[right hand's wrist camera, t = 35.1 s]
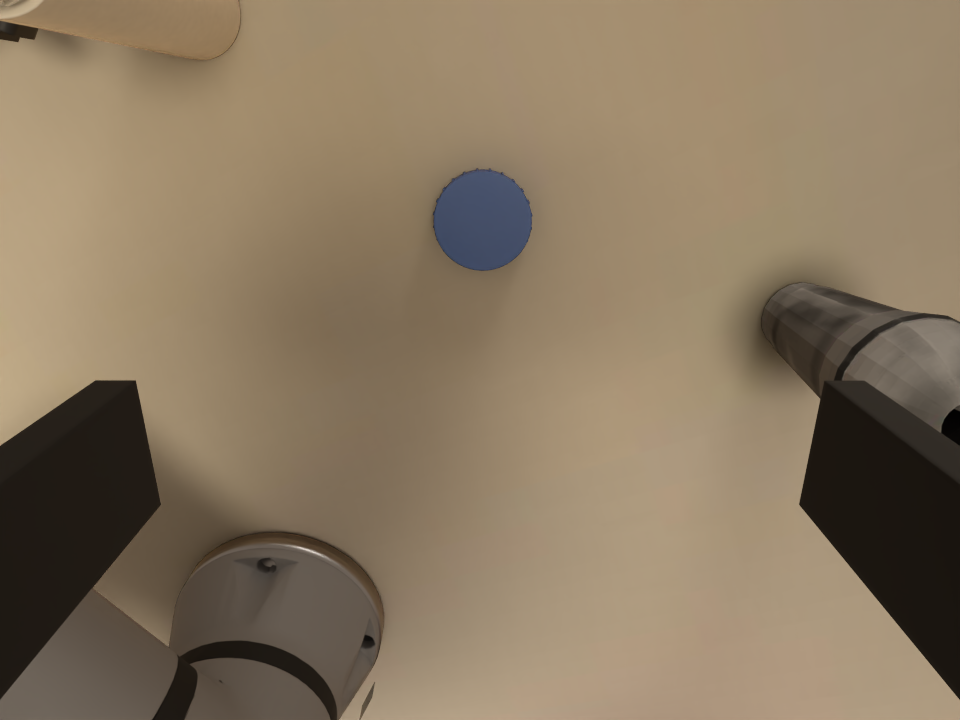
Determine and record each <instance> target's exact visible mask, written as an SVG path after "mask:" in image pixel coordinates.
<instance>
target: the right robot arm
mask: <svg viewBox="0 0 960 720" xmlns="http://www.w3.org/2000/svg"><path fill="white" fill-rule="evenodd" d="M160 505H161V503H160V498H159V493H158V488H157V483H156V479H155V474H154V469H153V464H152V459H151V454H150V449H149V444H148V439H147V434H146V429H145V424H144V419H143V414H142V409H141V404H140V399H139V394H138V390H137V385H136V381H94V382H93V383H91V384H90V385H88V386H87V387H85V388H84V389H82V390H81V391H80V392H78V393H77V394H75V395H74V396H72V397H71V398H69V399H68V400H66V401H65V402H64V403H62V404H61V405H59V406H58V407H56V408H55V409H53V410H52V411H50V412H49V413H48V414H46V415H45V416H43V417H42V418H40V419H39V420H37V421H36V422H34V423H33V424H31V425H30V426H29V427H27V428H26V429H24V430H23V431H21V432H20V433H18V434H17V435H15V436H14V437H13V438H11V439H10V440H8V441H7V442H5V443H4V444H2V445H1V446H0V720H339V719H340V717H341V716H342V714H343V713H344V711H345V710H346V708H347V707H348V705H349V703H350V702H351V700H352V699H353V697H354V696H355V694H356V693H357V691H358V690H359V688H360V687H361V685H362V683H363V682H364V680H365V679H366V677H367V676H368V674H369V672H370V671H371V669H372V668H373V666H374V664H375V662H376V659H377V657H378V653H379V649H380V644H381V639H382V633H383V627H384V615H383V608H382V603H381V600H380V597H379V594H378V592H377V590H376V588H375V586H374V585H373V583H372V581H371V580H370V578H369V577H368V576H367V575H366V573H365V572H364V571H363V570H362V569H361V568H360V567H359V566H358V565H357V564H356V563H355V562H354V561H353V560H352V559H350V558H349V557H347V556H346V555H345V554H343V553H342V552H340V551H338V550H337V549H335V548H333V547H331V546H329V545H327V544H325V543H323V542H320V541H318V540H315V539H312V538H308V537H305V536H300V535H295V534H288V533H259V534H252V535H247V536H243V537H240V538H236V539H234V540H231V541H229V542H226V543H225V544H223V545H221V546H219V547H217V548H216V549H214V550H213V551H211V552H210V553H209V554H208V555H206V556H205V557H204V558H203V559H202V560H201V561H200V562H199V564H198V565H197V566H196V568H195V569H194V570H193V572H192V574H191V575H190V577H189V578H188V580H187V582H186V583H185V585H184V586H183V588H182V590H181V592H180V594H179V596H178V599H177V602H176V606H175V612H174V617H173V623H172V630H171V636H170V642H169V647H167V646H166V645H165V644H163V643H162V642H161V641H160V640H158V639H157V638H156V637H154V636H153V635H152V634H151V633H149V632H148V631H147V630H145V629H144V628H143V627H142V626H140V625H139V624H138V623H136V622H135V621H134V620H133V619H131V618H130V617H129V616H127V615H126V614H125V613H124V612H122V611H121V610H120V609H118V608H117V607H116V606H115V605H113V604H112V603H111V602H109V601H108V600H107V599H106V598H104V597H103V596H102V595H100V594H99V593H98V592H97V591H95V590H94V589H93V586H94V585H95V584H96V583H97V581H98V580H99V579H100V578H101V577H102V575H103V574H104V573H105V572H106V571H107V569H108V568H109V567H110V566H111V564H112V563H113V562H114V561H115V560H116V558H117V557H118V556H119V555H120V554H121V552H122V551H123V550H124V549H125V547H126V546H127V545H128V544H129V543H130V541H131V540H132V539H133V538H134V537H135V535H136V534H137V533H138V532H139V530H140V529H141V528H142V527H143V526H144V524H145V523H146V522H147V521H148V520H149V518H150V517H151V516H152V515H153V513H154V512H155V511H156V510H157V509H158V507H159V506H160ZM799 505H800V506H801V507H802V509H803V510H804V511H805V512H806V513H807V515H808V516H809V517H810V518H811V520H812V521H813V522H814V523H815V524H816V526H817V527H818V528H819V529H820V530H821V532H822V533H823V534H824V535H825V537H826V538H827V539H828V540H829V541H830V543H831V544H832V545H833V546H834V547H835V549H836V550H837V551H838V552H839V554H840V555H841V556H842V557H843V558H844V560H845V561H846V562H847V563H848V564H849V566H850V567H851V568H852V569H853V571H854V572H855V573H856V574H857V575H858V577H859V578H860V579H861V580H862V581H863V583H864V584H865V585H866V586H867V588H868V589H869V590H870V591H871V592H872V594H873V595H874V596H875V597H876V599H877V600H878V601H879V602H880V603H881V605H882V606H883V607H884V608H885V609H886V611H887V612H888V613H889V614H890V616H891V617H892V618H893V619H894V620H895V622H896V623H897V624H898V625H899V626H900V628H901V629H902V630H903V631H904V633H905V634H906V635H907V636H908V637H909V639H910V640H911V641H912V642H913V643H914V645H915V646H916V647H917V648H918V650H919V651H920V652H921V653H922V654H923V656H924V657H925V658H926V659H927V660H928V662H929V663H930V664H931V665H932V667H933V668H934V669H935V670H936V671H937V673H938V674H939V675H940V676H941V677H942V679H943V680H944V681H945V682H946V684H947V685H948V686H949V687H950V688H951V690H952V691H953V692H954V693H955V695H956V696H957V697H958V698H959V699H960V446H959V445H958V444H956V443H955V442H953V441H952V440H950V439H949V438H947V437H946V436H945V435H943V434H942V433H940V432H939V431H937V430H936V429H934V428H933V427H931V426H930V425H929V424H927V423H926V422H924V421H923V420H921V419H920V418H918V417H917V416H915V415H914V414H912V413H911V412H910V411H908V410H907V409H905V408H904V407H902V406H901V405H899V404H898V403H896V402H895V401H894V400H892V399H891V398H889V397H888V396H886V395H885V394H883V393H882V392H880V391H879V390H878V389H876V388H875V387H873V386H872V385H870V384H869V383H867V382H866V381H824V385H823V390H822V394H821V399H820V404H819V409H818V414H817V419H816V424H815V429H814V434H813V439H812V444H811V449H810V454H809V459H808V464H807V469H806V474H805V479H804V483H803V488H802V493H801V498H800V503H799ZM374 684H375V682H374ZM374 684H373V686H372V688H371V690H370V692H369V694H368V696H367V698H366V700H365V701H364V703H363V705H362V710H361V715H360V719H361V717H362V715H363V714H364V712H365V710H366V708H367V706H368V704H369V702H370V700H371V698H372V695H373V689H374Z"/></svg>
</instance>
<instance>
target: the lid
mask: <svg viewBox="0 0 960 720" xmlns="http://www.w3.org/2000/svg"><path fill="white" fill-rule="evenodd" d="M523 192H524V191H523V189H522V188H521V189H520V188H519V186H518V185H517V184H516V183H515V181H514V179H512V180H511V179H510V178H509V177H507V176H505V175H504V174H503V172H501V173H499V172H496V171H492V170H491V169H489V170H478V168H477V169H476V170H474V171H470V172H467V173H466V172H463V174H462V175H460V176H458V177H457V178H455V179H454V178H453V179H452V182H450V183H449V184H448V186H447V187H446V188H445V187H444V188H443V192H442V194H441V196H440V198H438V199H437V201H436V202H437V205H436V208H435V211H434V213H433V215H434V226H433V228H434V230H435V234H436V237H437V240H438V242H439V244H440V246H441V248H442V249H443V251H444V252H445V253H446V254H447V255H448V257H450V258H451V259H452V260H453V261H455V262H456V263H457V264H459V265H461V266H463V267H466V268H469V269H473V270H481V271H484V270H492V269H496V268H500V267H502V266H504V265H506V264H508V263H509V262H511V261H512V260H513V259H515V258H516V257H517V256H518V255H519V254H520V253H521V252H522V250H523V248H524V247H525V245H526V243H527V242H528V238H529V236H530V231H531V229H532V227H531V224H532V213H531V210H530V207H529V204H530V203H529V201H528V200H527V199H526V197H525V195H524V194H523Z"/></svg>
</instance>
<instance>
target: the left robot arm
mask: <svg viewBox="0 0 960 720" xmlns="http://www.w3.org/2000/svg"><path fill="white" fill-rule="evenodd" d="M37 31H38V28H34V27H29V26H24V25H19V24H14V23H9V22H4V21H0V39H2V40H8V41H15V42H18V41H19V38H20V37H21V38H27V39H33V40H34V39H35V37H36V34H37Z"/></svg>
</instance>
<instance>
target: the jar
mask: <svg viewBox="0 0 960 720" xmlns="http://www.w3.org/2000/svg"><path fill="white" fill-rule="evenodd" d="M0 21H4V22H9V23H14V24H19V25H24V26H29V27H34V28H39V29H44V30H49V31H54V32H59V33H64V34H69V35H74V36H79V37H84V38H89V39H94V40H99V41H104V42H109V43H114V44H119V45H124V46H129V47H134V48H139V49H144V50H149V51H154V52H159V53H164V54H169V55H174V56H179V57H184V58H189V59H194V60H208V59H212V58H215V57H218V56H219V55H221V54H223V53H224V52H225V51H227V50H228V49H229V47H230V46H231V45H232V44H233V42H234V40H235V38H236V36H237V34H238V31H239V26H240V6H239V1H238V0H0Z"/></svg>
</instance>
